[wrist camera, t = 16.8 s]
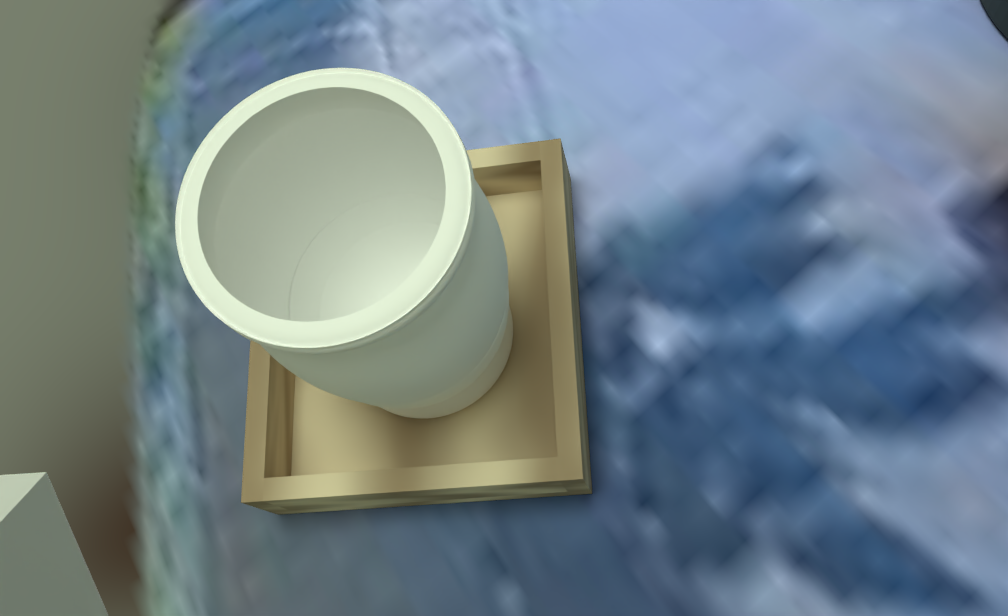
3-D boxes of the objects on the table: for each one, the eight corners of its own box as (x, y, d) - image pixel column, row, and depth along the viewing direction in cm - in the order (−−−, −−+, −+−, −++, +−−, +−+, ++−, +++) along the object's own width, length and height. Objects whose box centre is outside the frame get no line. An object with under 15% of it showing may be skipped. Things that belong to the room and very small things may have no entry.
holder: (570, 177, 48) (560, 138, 44) (592, 493, 43) (582, 478, 39) (291, 211, 50) (260, 176, 47) (278, 514, 45) (241, 502, 41)
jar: (281, 350, 46) (113, 225, 33) (420, 197, 48) (316, 15, 34) (436, 488, 43) (322, 415, 29) (581, 318, 44) (538, 170, 30)
